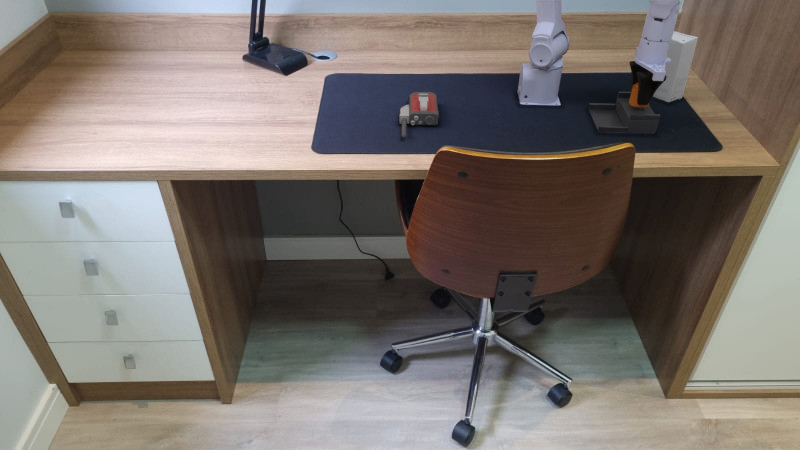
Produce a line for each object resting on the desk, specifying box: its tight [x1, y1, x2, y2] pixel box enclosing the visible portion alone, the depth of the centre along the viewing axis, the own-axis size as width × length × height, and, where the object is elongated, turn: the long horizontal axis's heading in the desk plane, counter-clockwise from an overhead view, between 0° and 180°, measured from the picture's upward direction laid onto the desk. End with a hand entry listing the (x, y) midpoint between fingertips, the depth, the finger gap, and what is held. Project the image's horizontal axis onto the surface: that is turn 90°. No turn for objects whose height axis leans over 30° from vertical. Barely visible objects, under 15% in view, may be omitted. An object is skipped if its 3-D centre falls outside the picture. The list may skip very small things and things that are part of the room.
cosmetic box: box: [652, 30, 699, 103], centre depth 133 cm, size 8×6×15 cm
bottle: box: [629, 83, 650, 107], centre depth 122 cm, size 4×4×6 cm
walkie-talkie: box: [398, 91, 440, 139], centre depth 126 cm, size 9×4×20 cm
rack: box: [587, 91, 661, 135], centre depth 125 cm, size 12×12×5 cm
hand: (639, 99), depth 123 cm, fingers closed on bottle, 4 cm apart
